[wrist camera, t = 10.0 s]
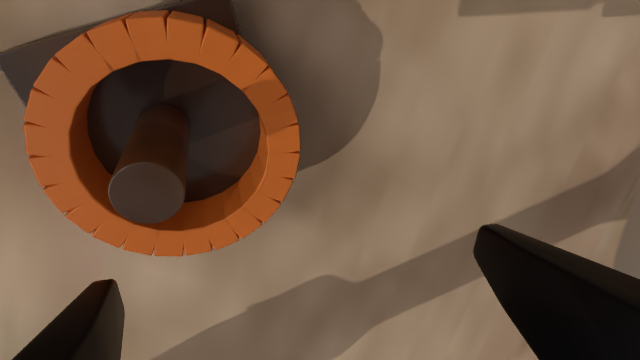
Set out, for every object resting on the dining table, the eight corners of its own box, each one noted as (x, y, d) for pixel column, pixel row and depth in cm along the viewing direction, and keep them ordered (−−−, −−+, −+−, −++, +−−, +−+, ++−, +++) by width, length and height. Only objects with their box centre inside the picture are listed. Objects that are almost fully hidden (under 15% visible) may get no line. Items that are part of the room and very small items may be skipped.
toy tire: (92, 241, 19) (78, 276, 17) (4, 18, 14) (-31, 27, 12) (295, 207, 21) (305, 234, 19) (280, 3, 16) (292, 8, 14)
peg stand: (118, 222, 20) (79, 337, 14) (8, 48, 16) (-128, 102, 9) (282, 166, 21) (317, 251, 15) (225, -12, 16) (239, -1, 10)
